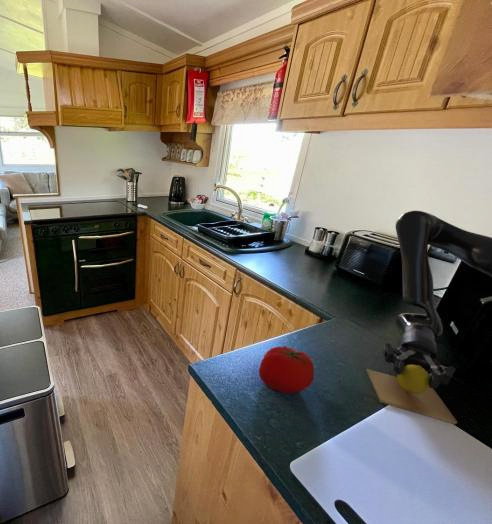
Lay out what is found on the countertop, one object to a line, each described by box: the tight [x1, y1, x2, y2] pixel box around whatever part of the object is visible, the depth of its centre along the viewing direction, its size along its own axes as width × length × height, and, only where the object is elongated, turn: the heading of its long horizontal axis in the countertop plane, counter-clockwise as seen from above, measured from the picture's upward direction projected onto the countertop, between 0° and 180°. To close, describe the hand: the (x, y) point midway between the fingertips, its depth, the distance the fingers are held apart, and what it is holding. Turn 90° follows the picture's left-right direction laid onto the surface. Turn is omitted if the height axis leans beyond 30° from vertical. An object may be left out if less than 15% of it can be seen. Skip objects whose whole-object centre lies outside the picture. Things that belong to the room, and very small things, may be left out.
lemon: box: [396, 365, 429, 393], centre depth 70 cm, size 6×6×8 cm
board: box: [365, 368, 458, 425], centre depth 72 cm, size 14×12×1 cm
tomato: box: [258, 345, 315, 394], centre depth 71 cm, size 11×13×10 cm
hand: (416, 378), depth 68 cm, fingers closed on lemon, 5 cm apart
